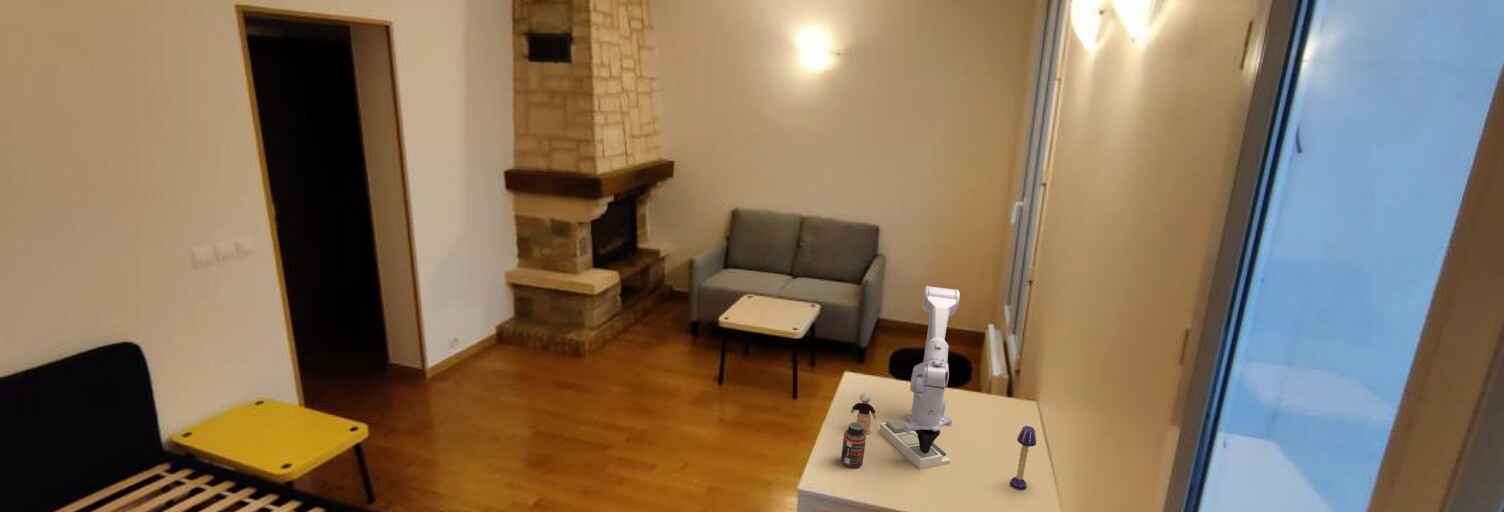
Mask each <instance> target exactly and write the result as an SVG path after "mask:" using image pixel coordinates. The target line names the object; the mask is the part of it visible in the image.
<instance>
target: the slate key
mask: <svg viewBox="0 0 1504 512" xmlns="http://www.w3.org/2000/svg"><path fill="white" fill-rule="evenodd" d="M912 450H913V451H914V452H916V453H917V454H918V455H919V456H920V457H921V458H924V457H929V456H935V455H936V454H935V453H934V452H933V451H932V450H931V449H930V450H929V452H928V453H925V454H924V453H923V452H922V451H921V450H920V447H914V448H912Z"/></svg>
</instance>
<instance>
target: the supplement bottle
mask: <svg viewBox="0 0 1504 512" xmlns="http://www.w3.org/2000/svg"><path fill="white" fill-rule="evenodd" d="M866 440H867V434H865V433H864V426H863V425H862V424H860V423H857V421H856V422H855V421H852V422H850V423H849V424H848V428H847V429H846V430H845V431H844V434H843V440H842V446H841V447H842V449H841V457H840V462H841V463H842V465H843V466H845V467H847V468H852V469H853V468H855V469H857V468H860V467H861V466H863V464H864V457H865V456H864V455H865V449H866Z"/></svg>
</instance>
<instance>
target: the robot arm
mask: <svg viewBox="0 0 1504 512" xmlns="http://www.w3.org/2000/svg"><path fill="white" fill-rule="evenodd" d="M960 295H961V293H960V291H959V289H958V288H957V289H953V288H944V287H937V286H936V287H935V286H929V285H925V286H924V290H923V296H922V310H924V311H925V312H926V313H928V315H929V319H928V325H927V326H928V327H927V333H926V334H927V335H926V339H925V349H924V356H923V362H920V363H919V364H918V363H917V364H916V365H914V367H913V368H912V372H911V373H912V374H911V379H910V387H909V388H910V389H909V391H910V392H911V393H913V398H912V405H911V411H910V412H911V413H908V414H907V413H906V414H904V417H905V418H906V419H907V420H909V421H908V422H905V423H904V428H903V430H904V431H905V432H906V433H910V431H916V433H917V436H918V439H919V445H920V450H921V451H922V452H923V453H924V454H925V453H928V452H929V450H930V448H931V445H932V444H933V443H935V441H936V439H937V438H938V437H939V436H940V435H941V431H940V430H941V429H940V428H942V427H945V426H947V427H952V423H953V419H952V418H951V417H950V416H945V411H946V400H945V399H946V398H945V396H944V395H945V389H947V387H948V383H949V376H950V372H949V363H948V357H949V347H950V346H949V344H948V343H947V341H946V340H945V339H946V334H947V333H946V332H947V328H948V321H949V317H952V316H954V315H955V312H956V311H958V309H959V305H960V298H961V297H960Z"/></svg>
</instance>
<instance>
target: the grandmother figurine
mask: <svg viewBox="0 0 1504 512" xmlns="http://www.w3.org/2000/svg"><path fill="white" fill-rule="evenodd" d="M858 399H859V400H860V401H861V402H857V403H855V404H854V405H853V406H852V408H851V409H850V411H849V413H850V414H854V412H855V411H858V412H857V416H856V417H857V418H856V422H857V423H860V424H862V425H863V426H864V431H863V432H864V433H865V434H866V435H870V434H871V433H872V431H871V429H870V426H871V415H872V417H873V419H874V420H876V419H877V418H878V417H877V413H876V410H875V408H874V406H872V404H869V403H870V402H871V399H872V394H871V393H870V391H867V390H866V391H863V392H861V393H860V395H859V398H858ZM870 413H871V414H870Z"/></svg>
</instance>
